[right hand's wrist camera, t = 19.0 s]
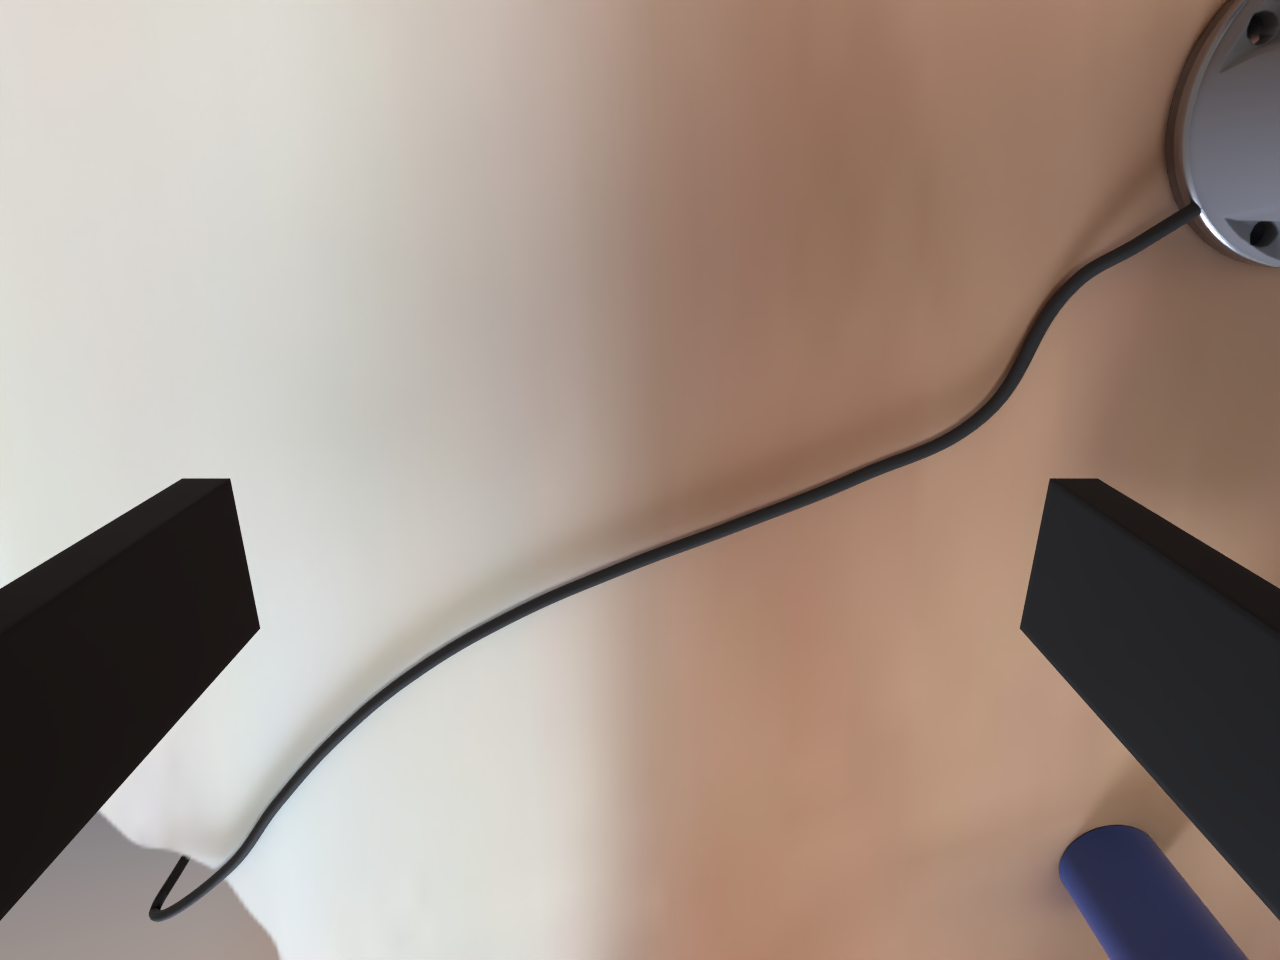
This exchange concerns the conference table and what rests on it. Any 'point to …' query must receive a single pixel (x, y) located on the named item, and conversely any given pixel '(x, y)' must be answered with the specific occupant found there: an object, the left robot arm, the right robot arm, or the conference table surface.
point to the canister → (1140, 900)
